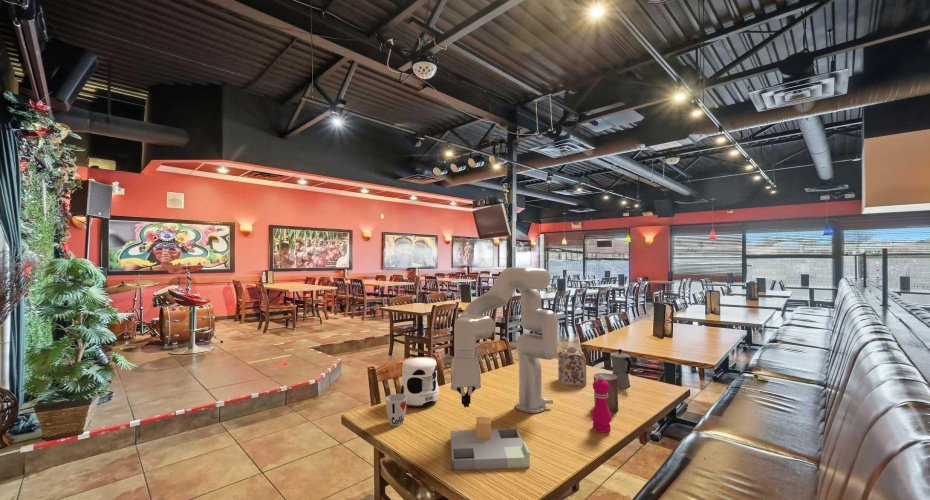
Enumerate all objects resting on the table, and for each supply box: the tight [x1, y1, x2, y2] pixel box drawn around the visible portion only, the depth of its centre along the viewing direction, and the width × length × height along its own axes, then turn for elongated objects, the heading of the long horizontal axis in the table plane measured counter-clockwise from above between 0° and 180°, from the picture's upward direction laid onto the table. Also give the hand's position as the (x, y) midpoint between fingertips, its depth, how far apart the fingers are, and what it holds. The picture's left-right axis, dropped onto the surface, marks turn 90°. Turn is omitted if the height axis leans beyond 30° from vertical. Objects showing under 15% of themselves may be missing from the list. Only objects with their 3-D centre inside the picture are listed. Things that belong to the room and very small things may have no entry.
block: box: [475, 416, 492, 438], centre depth 134 cm, size 5×5×5 cm
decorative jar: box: [557, 346, 587, 387], centre depth 198 cm, size 12×12×18 cm
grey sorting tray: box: [450, 428, 531, 471], centre depth 128 cm, size 24×20×4 cm
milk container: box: [399, 357, 440, 408], centre depth 172 cm, size 17×17×18 cm
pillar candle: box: [593, 372, 619, 413], centre depth 164 cm, size 10×10×15 cm
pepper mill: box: [591, 375, 613, 433], centre depth 144 cm, size 7×7×20 cm
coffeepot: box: [610, 348, 632, 389], centre depth 192 cm, size 15×9×18 cm, turn 9°
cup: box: [385, 393, 407, 427], centre depth 150 cm, size 8×8×10 cm
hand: (466, 405), depth 134 cm, fingers closed
